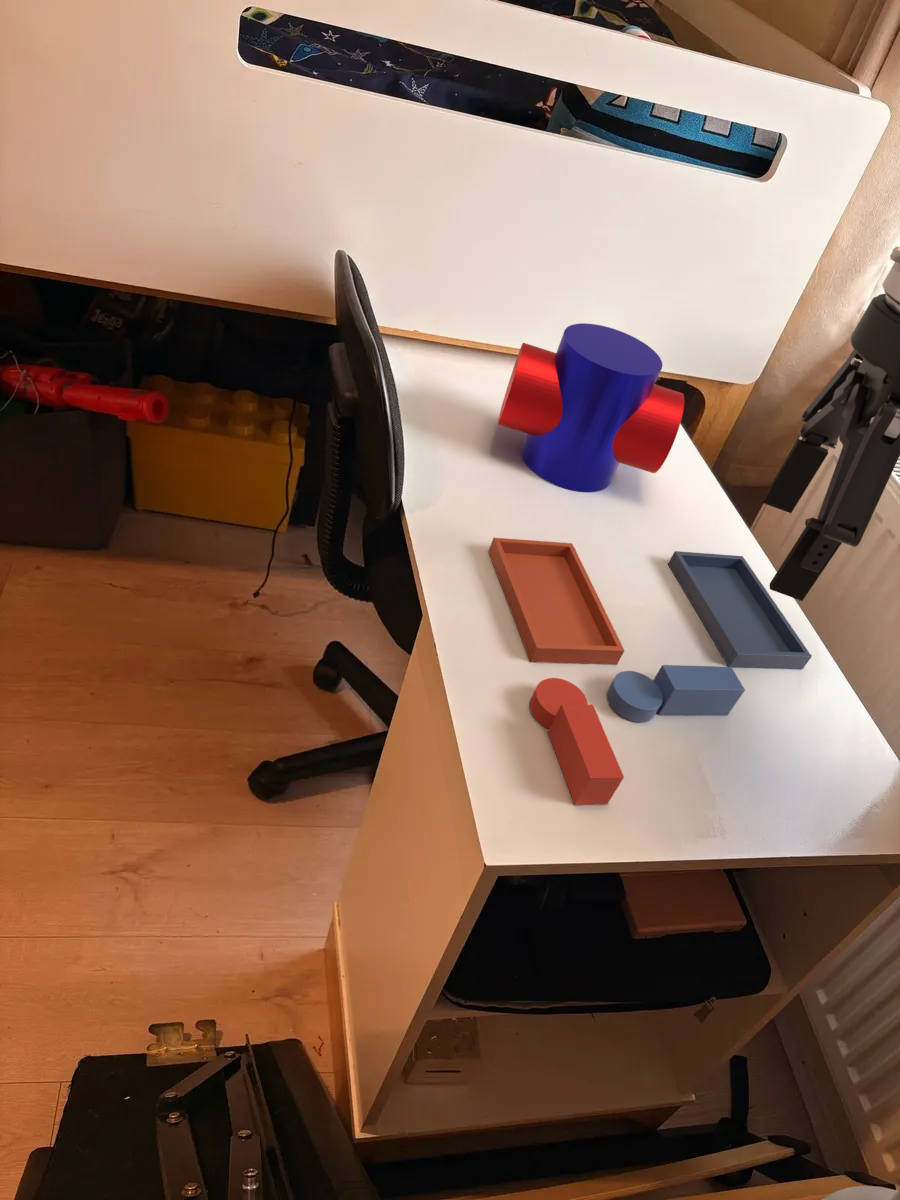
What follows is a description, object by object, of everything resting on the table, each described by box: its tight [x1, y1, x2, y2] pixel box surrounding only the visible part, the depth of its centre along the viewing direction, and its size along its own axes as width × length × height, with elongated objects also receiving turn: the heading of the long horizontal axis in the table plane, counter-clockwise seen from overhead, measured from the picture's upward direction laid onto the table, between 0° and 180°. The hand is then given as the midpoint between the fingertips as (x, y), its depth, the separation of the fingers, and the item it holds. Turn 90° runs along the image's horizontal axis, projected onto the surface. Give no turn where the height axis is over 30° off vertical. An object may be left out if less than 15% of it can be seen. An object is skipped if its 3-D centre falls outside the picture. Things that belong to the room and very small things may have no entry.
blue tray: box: [667, 550, 813, 670], centre depth 97 cm, size 16×9×2 cm, turn 12°
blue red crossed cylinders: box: [496, 322, 685, 493], centre depth 108 cm, size 20×12×16 cm, turn 81°
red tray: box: [488, 537, 625, 665], centre depth 90 cm, size 16×9×2 cm, turn 12°
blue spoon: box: [606, 664, 746, 723], centre depth 83 cm, size 12×5×4 cm, turn 102°
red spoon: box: [529, 677, 624, 806], centre depth 76 cm, size 12×5×4 cm, turn 12°
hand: (780, 546), depth 76 cm, fingers open, 13 cm apart
